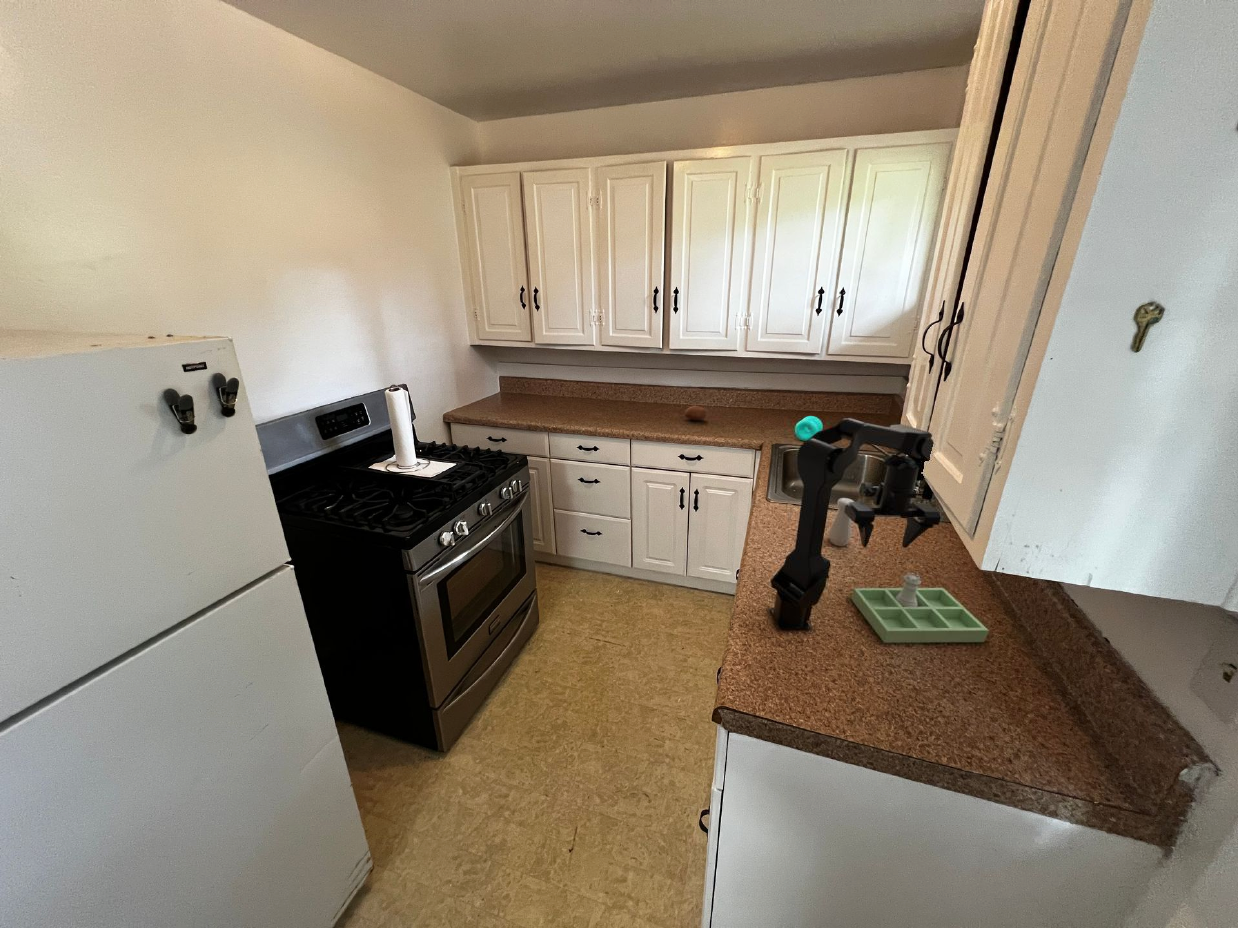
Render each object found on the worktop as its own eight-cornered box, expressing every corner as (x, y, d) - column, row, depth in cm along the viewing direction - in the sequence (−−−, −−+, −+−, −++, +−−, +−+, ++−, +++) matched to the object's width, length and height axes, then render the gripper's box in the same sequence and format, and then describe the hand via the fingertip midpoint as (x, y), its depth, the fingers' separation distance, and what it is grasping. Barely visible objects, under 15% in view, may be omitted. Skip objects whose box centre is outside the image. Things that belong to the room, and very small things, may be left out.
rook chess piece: (895, 597, 109) (903, 567, 106) (918, 605, 106) (927, 575, 103) (891, 607, 105) (899, 576, 102) (914, 615, 103) (923, 584, 100)
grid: (884, 642, 96) (887, 630, 95) (851, 598, 109) (853, 587, 108) (984, 642, 97) (988, 630, 95) (939, 598, 110) (943, 587, 108)
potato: (707, 422, 240) (708, 408, 238) (686, 422, 240) (687, 408, 237) (704, 418, 248) (705, 404, 246) (683, 418, 248) (684, 404, 245)
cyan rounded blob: (821, 438, 219) (825, 417, 215) (815, 444, 211) (819, 422, 208) (799, 434, 224) (802, 413, 221) (792, 439, 217) (795, 418, 213)
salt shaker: (827, 545, 131) (835, 502, 126) (826, 535, 136) (834, 494, 131) (850, 549, 129) (859, 506, 124) (848, 539, 134) (857, 497, 129)
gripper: (920, 470, 111) (904, 529, 116) (840, 469, 110) (828, 528, 116) (951, 490, 100) (933, 554, 106) (863, 489, 100) (849, 553, 106)
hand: (883, 546), depth 109 cm, fingers open, 9 cm apart
